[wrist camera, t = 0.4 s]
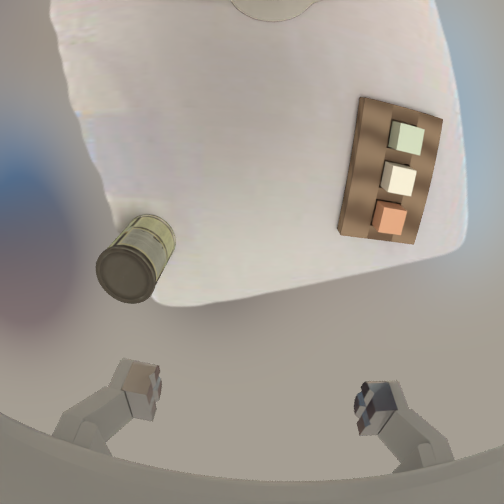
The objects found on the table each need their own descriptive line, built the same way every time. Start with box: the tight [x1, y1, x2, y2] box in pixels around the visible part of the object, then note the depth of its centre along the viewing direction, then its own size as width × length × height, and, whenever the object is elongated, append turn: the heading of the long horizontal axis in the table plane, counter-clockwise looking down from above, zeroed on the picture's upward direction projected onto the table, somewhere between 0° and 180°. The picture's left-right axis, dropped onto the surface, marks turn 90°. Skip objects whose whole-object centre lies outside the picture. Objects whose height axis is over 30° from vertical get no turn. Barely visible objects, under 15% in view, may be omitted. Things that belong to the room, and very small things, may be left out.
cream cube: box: [381, 161, 417, 196], centre depth 48 cm, size 4×4×4 cm
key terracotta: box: [372, 200, 407, 235], centre depth 51 cm, size 4×4×4 cm
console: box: [337, 97, 443, 244], centre depth 51 cm, size 24×15×3 cm, turn 174°
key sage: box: [388, 121, 425, 155], centre depth 45 cm, size 4×4×4 cm
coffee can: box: [96, 215, 176, 304], centre depth 53 cm, size 10×10×14 cm
